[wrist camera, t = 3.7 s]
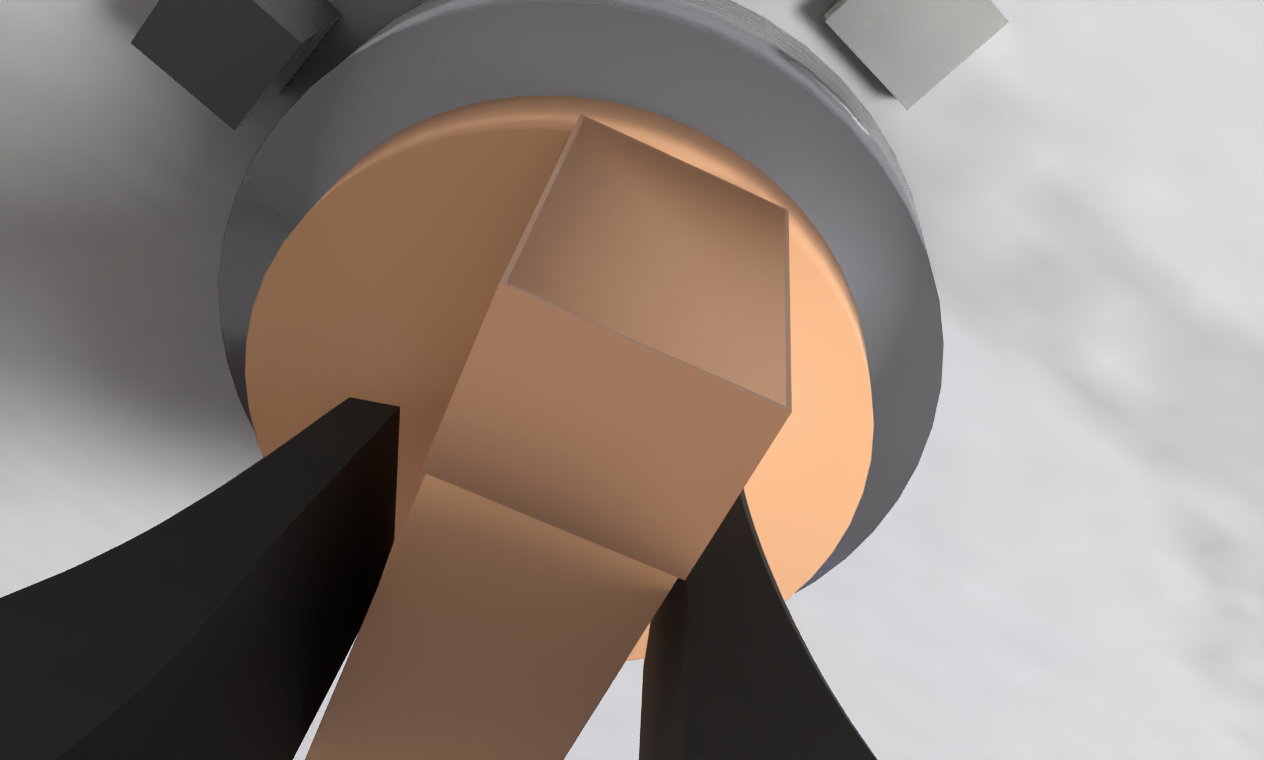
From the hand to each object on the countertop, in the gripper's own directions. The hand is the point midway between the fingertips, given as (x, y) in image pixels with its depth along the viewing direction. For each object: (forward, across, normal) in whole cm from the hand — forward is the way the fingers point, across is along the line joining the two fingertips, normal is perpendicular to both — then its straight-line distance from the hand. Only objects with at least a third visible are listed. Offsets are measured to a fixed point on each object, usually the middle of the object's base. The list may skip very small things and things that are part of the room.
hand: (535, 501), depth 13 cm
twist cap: (+2, 0, 0) cm, 2 cm away
